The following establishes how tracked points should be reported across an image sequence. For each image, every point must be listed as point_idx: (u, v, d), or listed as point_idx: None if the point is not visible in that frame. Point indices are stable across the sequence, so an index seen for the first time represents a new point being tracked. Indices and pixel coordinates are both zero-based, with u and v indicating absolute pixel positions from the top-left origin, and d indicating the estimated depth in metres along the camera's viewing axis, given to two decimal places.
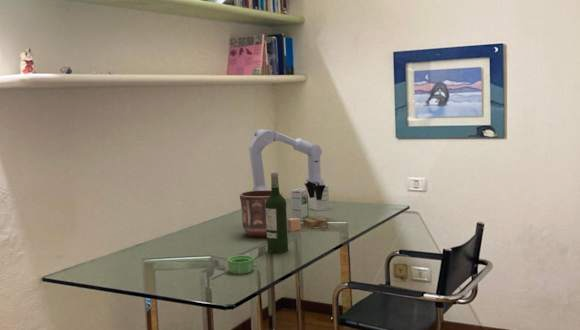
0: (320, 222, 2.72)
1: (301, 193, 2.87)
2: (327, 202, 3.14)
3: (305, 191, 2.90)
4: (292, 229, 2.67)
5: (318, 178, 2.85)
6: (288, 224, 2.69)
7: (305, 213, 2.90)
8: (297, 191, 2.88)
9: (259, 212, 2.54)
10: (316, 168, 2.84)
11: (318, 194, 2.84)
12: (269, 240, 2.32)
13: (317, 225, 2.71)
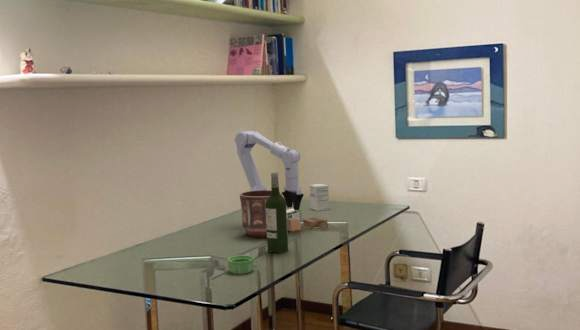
0: (320, 222, 2.72)
1: None
2: (327, 202, 3.14)
3: None
4: (292, 229, 2.67)
5: (296, 187, 2.66)
6: (288, 224, 2.69)
7: (297, 215, 2.85)
8: None
9: (259, 212, 2.54)
10: (287, 176, 2.65)
11: (296, 204, 2.65)
12: (269, 240, 2.32)
13: (318, 225, 2.71)
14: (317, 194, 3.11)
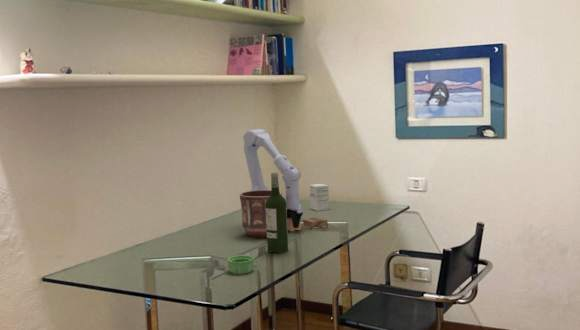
0: (320, 222, 2.72)
1: None
2: (327, 202, 3.14)
3: None
4: (292, 229, 2.67)
5: (296, 205, 2.67)
6: (288, 224, 2.69)
7: None
8: None
9: (259, 212, 2.54)
10: (288, 194, 2.66)
11: (295, 222, 2.67)
12: (269, 240, 2.32)
13: (318, 225, 2.71)
14: (317, 194, 3.11)
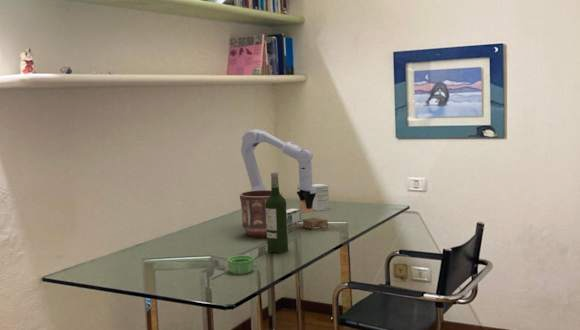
0: (320, 222, 2.72)
1: None
2: (327, 202, 3.14)
3: None
4: (305, 211, 2.70)
5: (309, 186, 2.69)
6: (301, 206, 2.72)
7: (297, 215, 2.85)
8: None
9: (259, 212, 2.54)
10: (303, 175, 2.68)
11: (308, 202, 2.69)
12: (269, 240, 2.32)
13: (318, 225, 2.71)
14: (317, 194, 3.11)
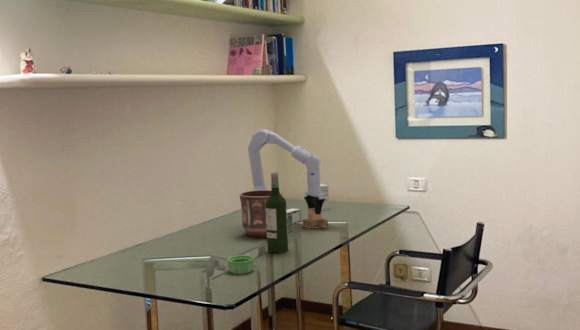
0: (321, 222, 2.72)
1: None
2: (327, 202, 3.14)
3: None
4: (313, 218, 2.72)
5: (318, 191, 2.71)
6: (309, 214, 2.74)
7: (297, 215, 2.85)
8: None
9: (259, 212, 2.54)
10: (312, 181, 2.70)
11: (317, 208, 2.71)
12: (269, 240, 2.32)
13: (318, 225, 2.71)
14: None
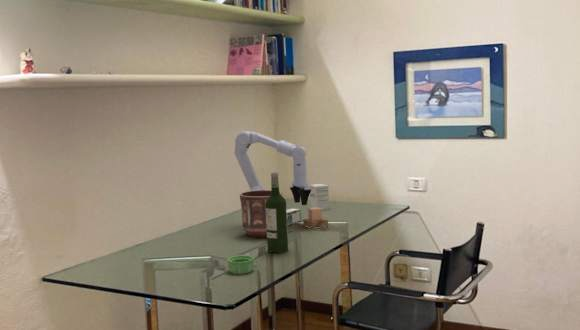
0: (321, 222, 2.72)
1: None
2: (327, 202, 3.14)
3: None
4: (313, 218, 2.72)
5: (304, 182, 2.73)
6: (309, 213, 2.74)
7: (297, 215, 2.85)
8: None
9: (259, 212, 2.54)
10: (298, 172, 2.71)
11: (303, 199, 2.71)
12: (269, 240, 2.32)
13: (319, 225, 2.71)
14: (317, 194, 3.11)
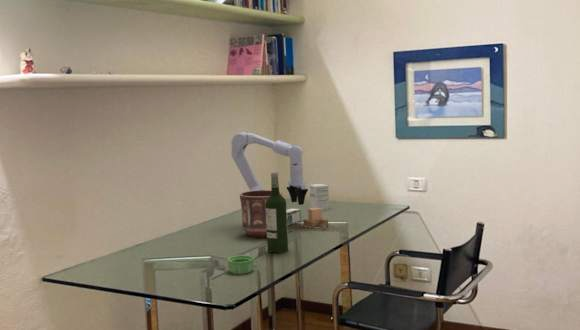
0: (321, 222, 2.72)
1: None
2: (327, 202, 3.14)
3: None
4: (313, 218, 2.72)
5: (300, 182, 2.73)
6: (309, 214, 2.74)
7: (297, 215, 2.85)
8: None
9: (259, 212, 2.54)
10: (295, 171, 2.72)
11: (300, 198, 2.72)
12: (269, 240, 2.32)
13: (319, 225, 2.71)
14: (317, 194, 3.11)
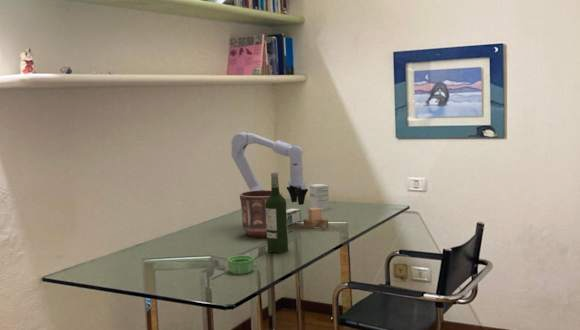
0: (321, 222, 2.72)
1: None
2: (327, 202, 3.14)
3: None
4: (313, 218, 2.72)
5: (300, 182, 2.73)
6: (309, 213, 2.74)
7: (297, 215, 2.85)
8: None
9: (259, 212, 2.54)
10: (295, 171, 2.72)
11: (300, 198, 2.72)
12: (269, 240, 2.32)
13: (319, 225, 2.71)
14: (317, 194, 3.11)
